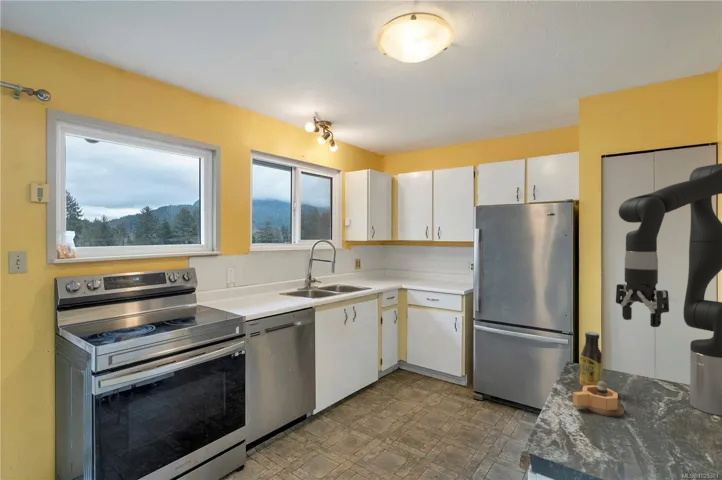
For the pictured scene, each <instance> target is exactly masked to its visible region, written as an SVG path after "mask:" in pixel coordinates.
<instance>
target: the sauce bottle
mask: <svg viewBox="0 0 722 480" xmlns="http://www.w3.org/2000/svg"><path fill="white" fill-rule="evenodd" d="M584 337H585V344H584V345H583V349H582V351H581V353H580V359H579V360H580V362H579V363H580V364H579V387H580V389H581V390H582V388H583V386H589V385H595V386H597V384H598V382H599V381H602V369H603V368H602V367H603V361H602V360H603V359H602V356H603V354H602V351H601V349H600V348H599V339H600V334H599V333H598V332H594V331H585V333H584Z"/></svg>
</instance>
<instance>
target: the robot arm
mask: <svg viewBox="0 0 722 480" xmlns="http://www.w3.org/2000/svg"><path fill="white" fill-rule="evenodd" d="M721 194H722V162H721V163H716V164H715V163H714V164H710V165H705V166H699V167H696V168H694V169H693V170H692V172H691V173H690V175H689V179H688V180H686V181H682V182H679V183H674V184H672V185H671V184H670V185H668V186H665V187H663V188H660V189H657V190H656V191H653V192H651V193H646V194H643V195H638V196H635V197H631V198H628V199H627V200H624V201H623V202H622V203H621V204H620V206H619V209H618V215H619V217H620V219H622V220H623V221H625V222H626V223H634V224H635V223H637V224H638V223H640V225H639V227H638V229H636V230H632V231H628V232H627V233H626V235H625V255H624V283H619V284H617V285H616V288H615V289H616V290H615V291H616V292H615V304H619V305H620V306H621V308H622V309H621V310H622V311H621V312H622V313H621V316H622V318H623V320H626V321H630V320H632V318H633V315H632V314H633V313H632V312H633V311H632V310H633V309H632V306H633V304H634V303H637V302H639V303H641V304H644V306H645V307H647V308H648V309H649V311H650V323H649V324H650V325H649V326H650V327H653V328H658V327H660V326H661V324H662V321H661V320H662V314H664V313H669V312H670V304H669V302H670V301H669V292H668V290H666V289H663V290H657V287H656V286H657V284H658V283H659V276H658V275H659V258H658V252H657V251H658V246H657V245H658V240H657V239H658V236H659V232H660V230H661V227H662V223H663V220H664V218H665V214H667V213H670V212H672V211H675V210H677V209H680V208H681V207H682V208H683V207H684V206H686V205H689V204H690V229H689V230H690V232H689V240H688V241H689V242H688V243H689V244H688V245H689V246H688V275H687V285H686V291H685V295H684V297H685V298H684V305H683V320H684V323H685V324H686V325H687V326H688V327H691V328H693V329H698V330H704V331H708V332H713V334H712V337H711V338H703V339H693V340H691V342H690V348H689V349H690V350H689V351H690V354H689V355H690V356H689V358H690V359H689V360H690V361H689V363H690V365H689V367H690V368H689V369H690V370H689V371H690V372H689V373H690V375H689V382H690V383H689V389H690V390H689V398H690V399H689V404H690V406H691V407H692V408H694V409H696V410H698V411H701V412H704V413H707V414H711V415H715V416H722V301H716V300H709V299H705V294H706V291H707V289H708V288H707V287H708V285H710V282H711V281H712V280H713V279H715V277H716V276H717V275H718V274H719V273H720V272H721V271H722V221H721V220H720V219H719V218H718V216H717V215H716V213H715V211H714V209H713V203H712V196H716V195H717V196H718V195H721ZM625 283H626V284H625Z"/></svg>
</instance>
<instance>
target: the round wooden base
mask: <svg viewBox="0 0 722 480" xmlns="http://www.w3.org/2000/svg"><path fill="white" fill-rule="evenodd" d="M607 388H608V384H607V383H606V382H605V381H603V380H601V381H599V382H598V384H597V395H599V396H603V397H607ZM582 407H583V408H585V409H586V410H587V411H590V412H592V413H594V414H598V415H601V416H607V417H620V416H623V415H624V413H625V407H624V405H623V403H621V402H620V401H618V409H617V410H603V409H598V408H594V407H591V406H589V405H587V406H582Z"/></svg>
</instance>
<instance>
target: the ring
mask: <svg viewBox="0 0 722 480" xmlns="http://www.w3.org/2000/svg"><path fill="white" fill-rule="evenodd" d="M618 399H619V398H618V392H616V391H614V390H612V389H610V388H608V387H607V397H603V396H599V395H597V386H595V385H589V386H583V388H582V389H581V391H574V392H572V404H573V405H574V406H576V407H583V406H587V405H589V406H591V407H594V408H598V409H603V410H617V409H618V402H619V400H618Z"/></svg>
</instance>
